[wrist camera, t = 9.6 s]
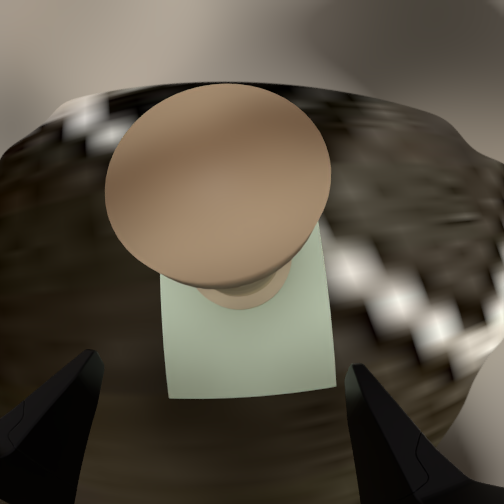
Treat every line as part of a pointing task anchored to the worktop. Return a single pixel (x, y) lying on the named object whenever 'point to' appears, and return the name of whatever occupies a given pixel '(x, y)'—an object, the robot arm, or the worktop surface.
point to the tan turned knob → (219, 190)
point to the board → (251, 337)
